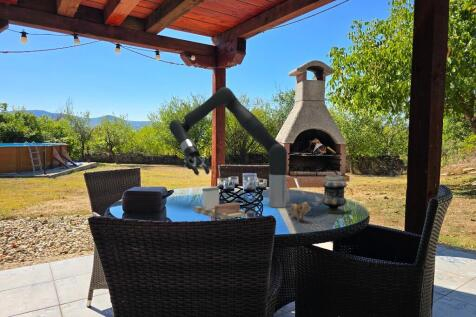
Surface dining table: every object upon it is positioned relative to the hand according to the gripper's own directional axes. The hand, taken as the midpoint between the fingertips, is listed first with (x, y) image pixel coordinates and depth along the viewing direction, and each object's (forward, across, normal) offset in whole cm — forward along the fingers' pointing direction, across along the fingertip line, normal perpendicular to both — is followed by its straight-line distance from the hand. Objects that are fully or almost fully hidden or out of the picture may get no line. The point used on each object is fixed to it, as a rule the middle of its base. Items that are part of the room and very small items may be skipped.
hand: (203, 173), depth 172 cm
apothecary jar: (+46, +46, -20) cm, 68 cm away
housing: (+22, 0, +4) cm, 22 cm away
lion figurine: (+45, +19, -19) cm, 53 cm away
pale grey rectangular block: (+16, 0, +7) cm, 18 cm away
